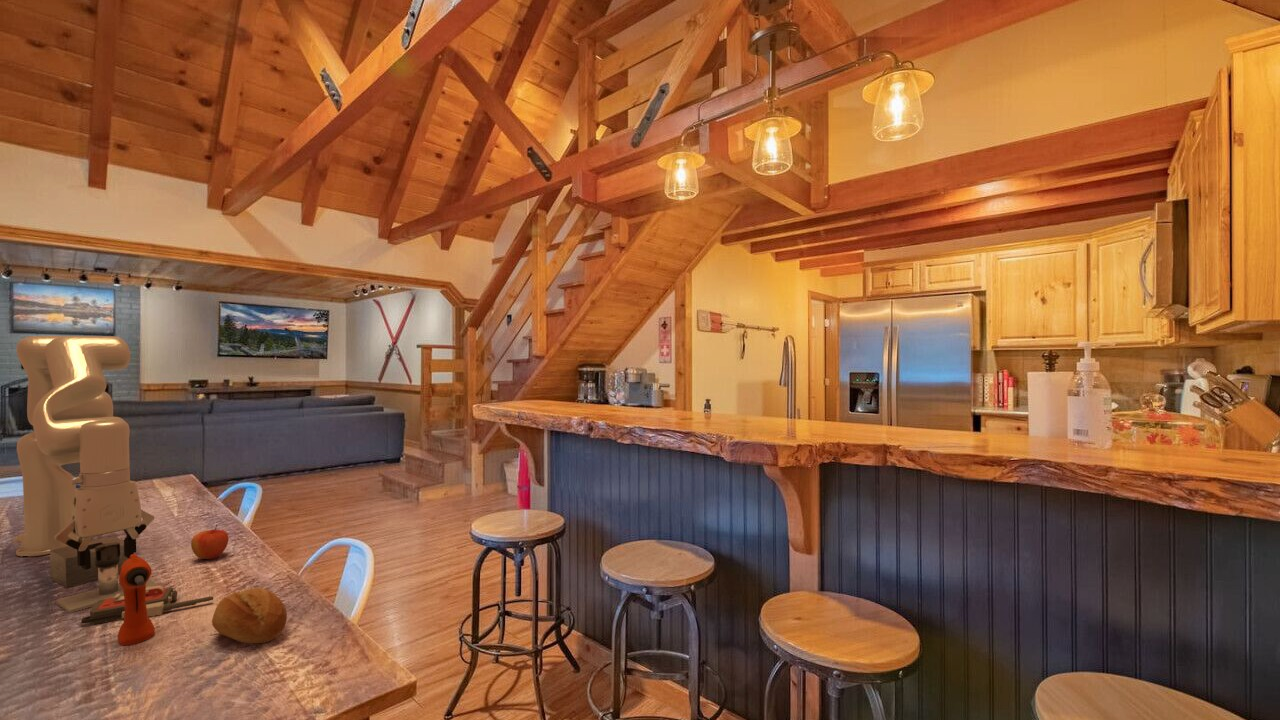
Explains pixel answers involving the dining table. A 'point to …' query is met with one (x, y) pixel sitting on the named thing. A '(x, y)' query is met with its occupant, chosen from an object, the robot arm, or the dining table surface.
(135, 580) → the toy drill
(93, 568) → the block
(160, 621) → the dining table surface
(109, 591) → the brown beige cylinder
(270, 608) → the bread roll
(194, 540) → the apple
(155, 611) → the walkie-talkie
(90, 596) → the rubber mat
